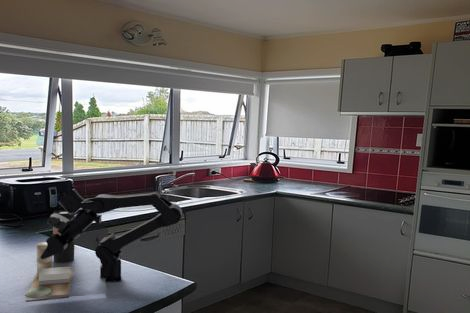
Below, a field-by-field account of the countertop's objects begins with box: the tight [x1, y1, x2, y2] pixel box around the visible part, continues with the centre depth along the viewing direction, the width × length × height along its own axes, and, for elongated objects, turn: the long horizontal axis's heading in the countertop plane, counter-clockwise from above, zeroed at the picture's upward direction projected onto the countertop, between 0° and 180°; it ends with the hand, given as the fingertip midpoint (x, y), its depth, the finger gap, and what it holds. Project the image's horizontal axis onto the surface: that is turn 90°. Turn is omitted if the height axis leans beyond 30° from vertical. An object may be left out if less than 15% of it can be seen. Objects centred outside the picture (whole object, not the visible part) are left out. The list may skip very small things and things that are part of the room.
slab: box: [39, 266, 71, 286], centre depth 135 cm, size 9×6×4 cm, turn 108°
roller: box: [36, 241, 53, 278], centre depth 141 cm, size 5×5×11 cm
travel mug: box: [52, 209, 76, 264], centre depth 157 cm, size 8×8×20 cm
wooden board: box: [25, 269, 74, 303], centre depth 135 cm, size 13×22×2 cm, turn 18°
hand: (46, 253), depth 141 cm, fingers open, 9 cm apart
